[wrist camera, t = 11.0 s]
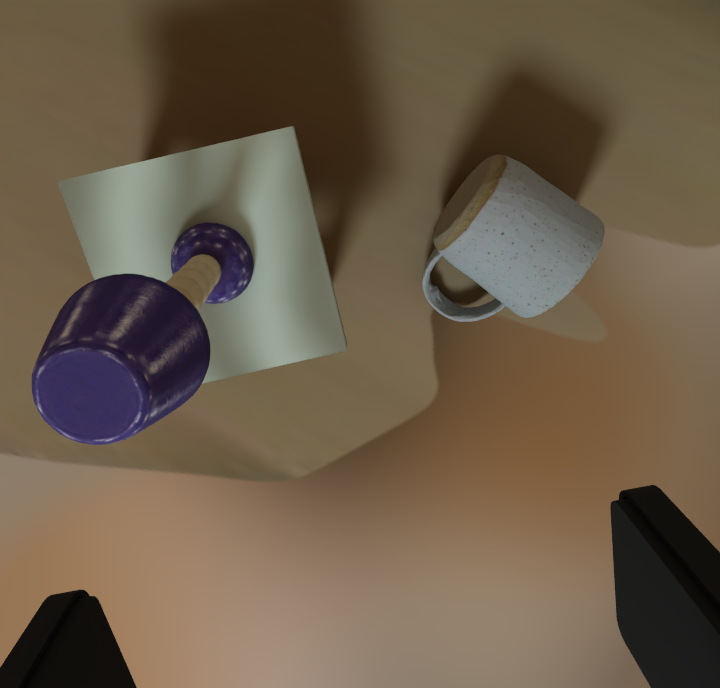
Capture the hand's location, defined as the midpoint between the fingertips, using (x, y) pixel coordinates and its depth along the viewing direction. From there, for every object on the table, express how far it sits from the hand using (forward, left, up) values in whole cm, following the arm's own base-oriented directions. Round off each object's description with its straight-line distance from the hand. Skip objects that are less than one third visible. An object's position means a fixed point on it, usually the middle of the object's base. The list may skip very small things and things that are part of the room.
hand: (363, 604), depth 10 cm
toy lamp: (+6, -3, -22) cm, 23 cm away
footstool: (+6, -3, -31) cm, 32 cm away
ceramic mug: (-11, +1, -31) cm, 33 cm away
